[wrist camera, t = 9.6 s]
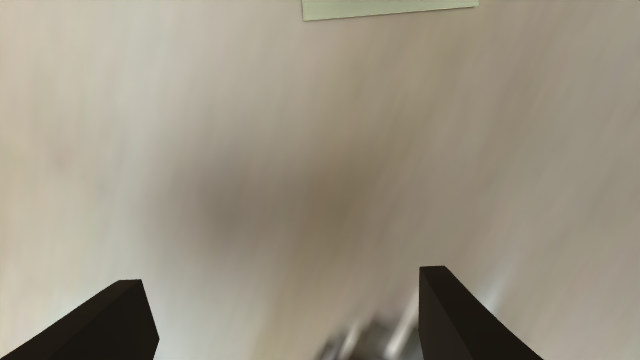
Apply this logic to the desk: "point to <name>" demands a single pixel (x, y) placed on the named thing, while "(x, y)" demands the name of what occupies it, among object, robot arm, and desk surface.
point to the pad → (374, 7)
